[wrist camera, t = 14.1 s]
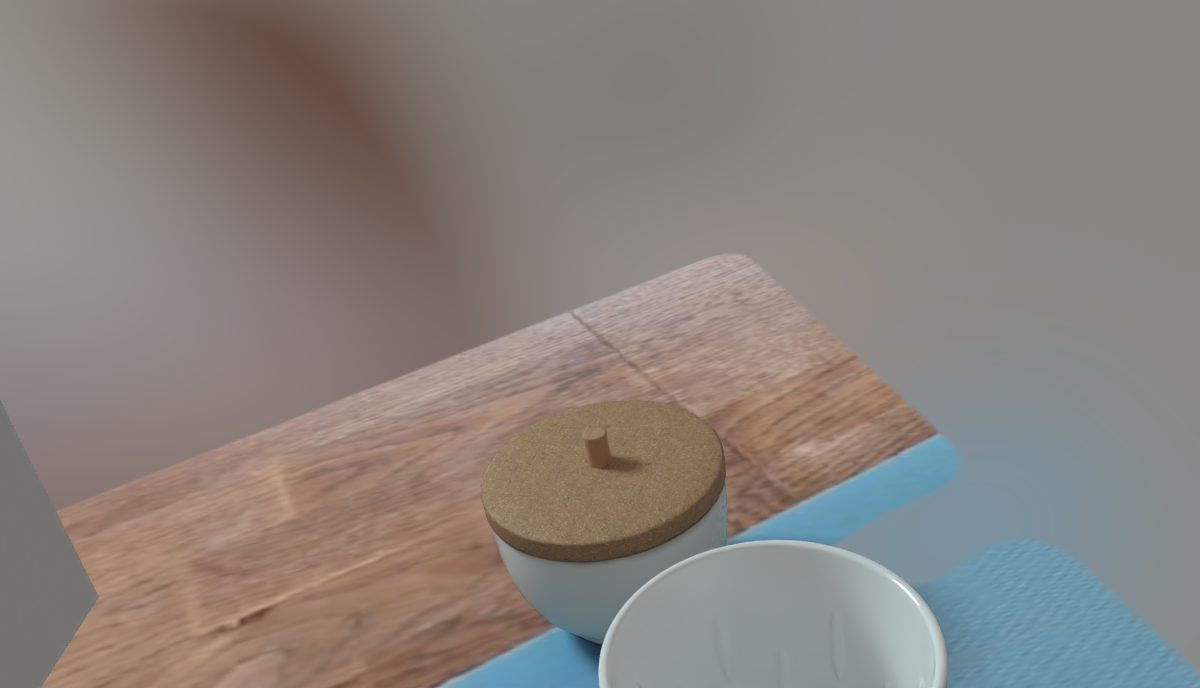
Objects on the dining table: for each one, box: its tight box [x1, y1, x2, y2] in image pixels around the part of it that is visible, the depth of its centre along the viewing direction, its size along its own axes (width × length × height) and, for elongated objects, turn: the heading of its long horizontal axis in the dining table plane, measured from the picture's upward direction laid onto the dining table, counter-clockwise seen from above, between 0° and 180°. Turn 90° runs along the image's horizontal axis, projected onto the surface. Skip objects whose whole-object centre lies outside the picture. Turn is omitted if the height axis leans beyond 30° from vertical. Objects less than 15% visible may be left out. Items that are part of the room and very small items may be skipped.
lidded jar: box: [481, 400, 728, 645], centre depth 49 cm, size 11×11×9 cm
